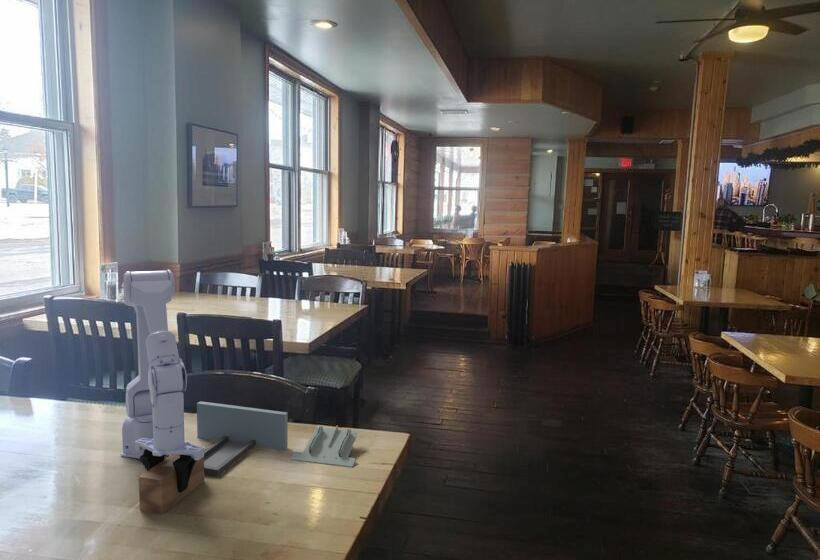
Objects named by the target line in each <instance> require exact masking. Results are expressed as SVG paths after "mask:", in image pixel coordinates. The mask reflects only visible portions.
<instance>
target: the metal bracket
mask: <svg viewBox="0 0 820 560" xmlns="http://www.w3.org/2000/svg"><path fill="white" fill-rule="evenodd" d="M358 434H359V432H358V431H353V430H352V429H351V428H347V429H346V430H341V429H339V425H336V426H335V428H334V429H333V428H324V427H323V425H319V426H318V427H315V428H314V431H313V432H312V434H311V436H310V438H309V439H308V442H307V444H306V446H305V448H304V449H303V451H293V454H292V455H291V457H290V461H291V462H298V463H310V464H319V465H328V466H334V467H335V466H337V467H339V468H340V467H341V468H350V469H351V467H352V468H353V467H354V465H355V463H356V460H357V459H356V458H354V457H349V456H350V454H351V452H352V449H353V447H354V444H355V442H356V440H357V437H358Z"/></svg>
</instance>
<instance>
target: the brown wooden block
mask: <svg viewBox="0 0 820 560" xmlns="http://www.w3.org/2000/svg"><path fill="white" fill-rule="evenodd" d="M178 458H180V456H177V455H168V457H166V458H164V460H163V461H162V462H160V463H159V464H157V465H156V466H154V467H153V468H151V469H150V470H148V471H147V470H146V471H145V472H143V473H142V474H141V475H139V476H138V489H139V491H138V492H139V511H141V512H149V513H154V514H159V515H160V514H161V515H163V514H165V513H166V512H167V511H168V510H169V509H171V508H172V507H173V506H174V505H176V504H177V503H179V502H180V501H181V500H183V498H185V496H187V495H188V494H190V493H191V492H192V491H193V490H194V489H196V487H198V486H200V484H202V483H203V482H204V481H205V474H204V457H202V458H201V459H200V460H197V461H196V463H195V465H194V467H193V469H192V472H191V475H190V478H189V483H188V488H187V489H185V490H184V491H183V492H178V488H177V475H176V471H175V468H174V466H173V462H174V461H175V460H177V459H178Z"/></svg>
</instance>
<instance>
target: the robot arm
mask: <svg viewBox="0 0 820 560" xmlns="http://www.w3.org/2000/svg"><path fill="white" fill-rule="evenodd" d="M174 276H175V275H174V273H173V271H172V270H170V269H166V270H143V271H138V270H137V271H128V270H127V271H125V273H124V274H123V278H122V282H123V283H122V284H123V285H122V286H123V288H122V289H123V302H124V303H125V306H128V307H132V308H133V309H134V312H135V314H136V315H135V316H136V317H135V318H136V337H137V339H136V340H137V361H138V367H137V368H138V375H137V376H136V377H135V378H133V379H132V380H131V381H130V382H129V383H127V384H126V387H125V390H126V391H125V409H126V416H127V417H126V418H125V419H124V421H123V423H122V429H121V435H122V440H121V441H122V452H121V453H120V456H121V457H125V458H132V459H139V462H140V463H141V464H142V465H143V467H144V468H145V470H146V472H147V471H148V470H150V469H151V468H153V467H154V466H156V465H157V464H159V463H160V462H162V461H163V460H164V459H165V456H166V455H168V456H170V455H177V456H180V458H178V459H177V460H175V461H174V462H173V466H174V468H175V471H176V475H177V488H178V492H183V491H184V490H185V489H187V488H188V483H189V478H190V475H191V472H192V469H193V467H194V465H195V463H196V461H197V460H200V459H201V458H202V457H204V450H205V447H203V446H199V445H197V444H194V443H191V442H189V441H187V440H185V415H184V414H185V411H184V410H185V408H184V407H185V406H184V392H186V390H187V385H188V381H187V380H188V376H187V370H186V367H185V364H184V362H183V358H181V357H180V356H179V349H178V343H177V338H176V335H175V334H174V333H173V332H171V331H169V326H168V325H169V324H168V322H169V321H168V312H167V310H168V309H167V304H168V303H169V302H171V301H172V299H173V298H172V297H173V296H174V295H175V289H176V287H175V286H176V285H175V277H174Z"/></svg>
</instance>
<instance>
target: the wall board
mask: <svg viewBox="0 0 820 560" xmlns="http://www.w3.org/2000/svg"><path fill="white" fill-rule="evenodd" d="M288 413H289V412H288V411H287V412H286V411H278V410H270V409H263V408H256V407H248V406H246V407H245V406H241V405H233V404H224V403H217V402H208V401H199V402H196V431H197V432H196V434H197V436H196V437H197V438H198V439H205V440H212V441H215V442H214V443H212V444H211V445H210V446H208V447H206V448H204V476H205V475H206V476H212V477H220V475H221V474H223V473H225V472H226V471H227V470H228V469H229V468H231V467H232V466H233V465H234V464H235V463H236V462H238V461H239V460H241V459H242V458H243V457H244V456H245V455H247V454H248V453H249V452H250V451H252V450H253V449H254V448H255V447H260V448H267V449H275V450H280V451H285V450H287V449H288V441H289V439H288V427H289V426H288V421H289V420H288V417H289V415H288ZM197 438H196V439H197Z"/></svg>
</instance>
